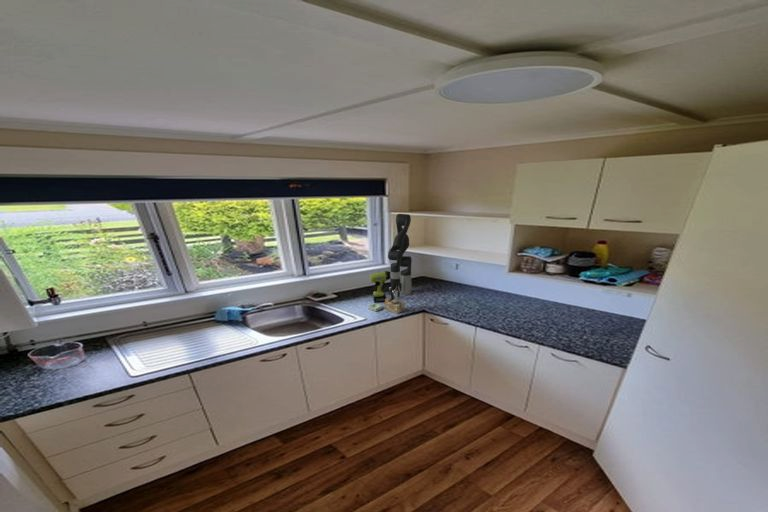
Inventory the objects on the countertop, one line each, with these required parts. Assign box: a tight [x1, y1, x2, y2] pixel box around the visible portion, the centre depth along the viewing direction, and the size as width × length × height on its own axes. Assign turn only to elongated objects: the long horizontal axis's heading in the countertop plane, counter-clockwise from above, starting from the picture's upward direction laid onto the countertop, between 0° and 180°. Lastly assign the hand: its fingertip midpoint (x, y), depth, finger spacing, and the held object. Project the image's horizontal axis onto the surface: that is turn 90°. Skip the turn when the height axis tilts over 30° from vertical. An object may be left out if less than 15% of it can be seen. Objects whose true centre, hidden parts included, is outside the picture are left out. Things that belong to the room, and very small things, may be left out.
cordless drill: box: [369, 270, 391, 304], centre depth 252 cm, size 23×7×25 cm, turn 99°
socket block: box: [385, 300, 406, 315], centre depth 234 cm, size 10×10×6 cm
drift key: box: [384, 297, 392, 309], centre depth 238 cm, size 3×3×7 cm
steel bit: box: [392, 290, 399, 304], centre depth 233 cm, size 3×3×16 cm
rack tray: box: [367, 303, 384, 312], centre depth 237 cm, size 8×8×2 cm
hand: (395, 298), depth 232 cm, fingers open, 6 cm apart
